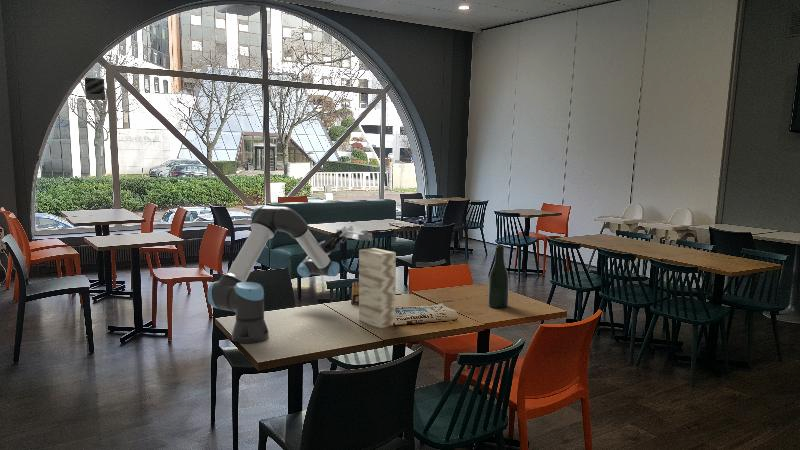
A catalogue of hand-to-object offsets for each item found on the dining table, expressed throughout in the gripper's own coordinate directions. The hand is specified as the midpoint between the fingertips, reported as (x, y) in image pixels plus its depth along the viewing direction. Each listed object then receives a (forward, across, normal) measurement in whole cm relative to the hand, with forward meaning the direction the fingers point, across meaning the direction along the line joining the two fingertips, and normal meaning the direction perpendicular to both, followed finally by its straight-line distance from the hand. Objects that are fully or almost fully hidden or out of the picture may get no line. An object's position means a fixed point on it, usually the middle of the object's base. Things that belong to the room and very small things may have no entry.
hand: (349, 228), depth 273 cm
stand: (-2, 0, +48) cm, 48 cm away
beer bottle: (+13, +68, +56) cm, 89 cm away
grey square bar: (+1, 0, +6) cm, 6 cm away
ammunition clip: (-31, +16, +31) cm, 47 cm away
